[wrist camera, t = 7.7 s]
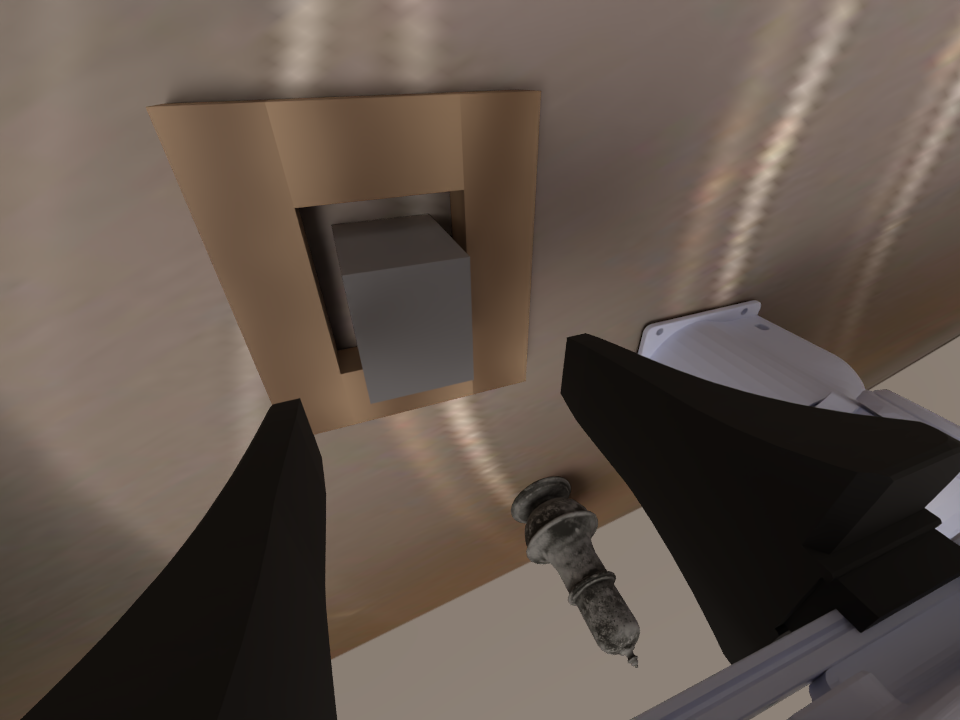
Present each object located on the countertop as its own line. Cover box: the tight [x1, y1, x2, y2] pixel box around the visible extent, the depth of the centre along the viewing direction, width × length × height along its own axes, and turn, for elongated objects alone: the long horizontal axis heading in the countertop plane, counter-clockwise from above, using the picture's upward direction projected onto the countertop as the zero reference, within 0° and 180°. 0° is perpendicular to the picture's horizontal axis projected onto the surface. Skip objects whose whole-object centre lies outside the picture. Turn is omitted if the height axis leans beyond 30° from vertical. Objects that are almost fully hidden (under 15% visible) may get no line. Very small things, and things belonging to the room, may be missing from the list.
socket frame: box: [146, 90, 541, 435], centre depth 17 cm, size 12×13×2 cm
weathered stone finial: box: [511, 477, 640, 668], centre depth 28 cm, size 6×6×12 cm
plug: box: [331, 214, 474, 404], centre depth 16 cm, size 4×5×6 cm
